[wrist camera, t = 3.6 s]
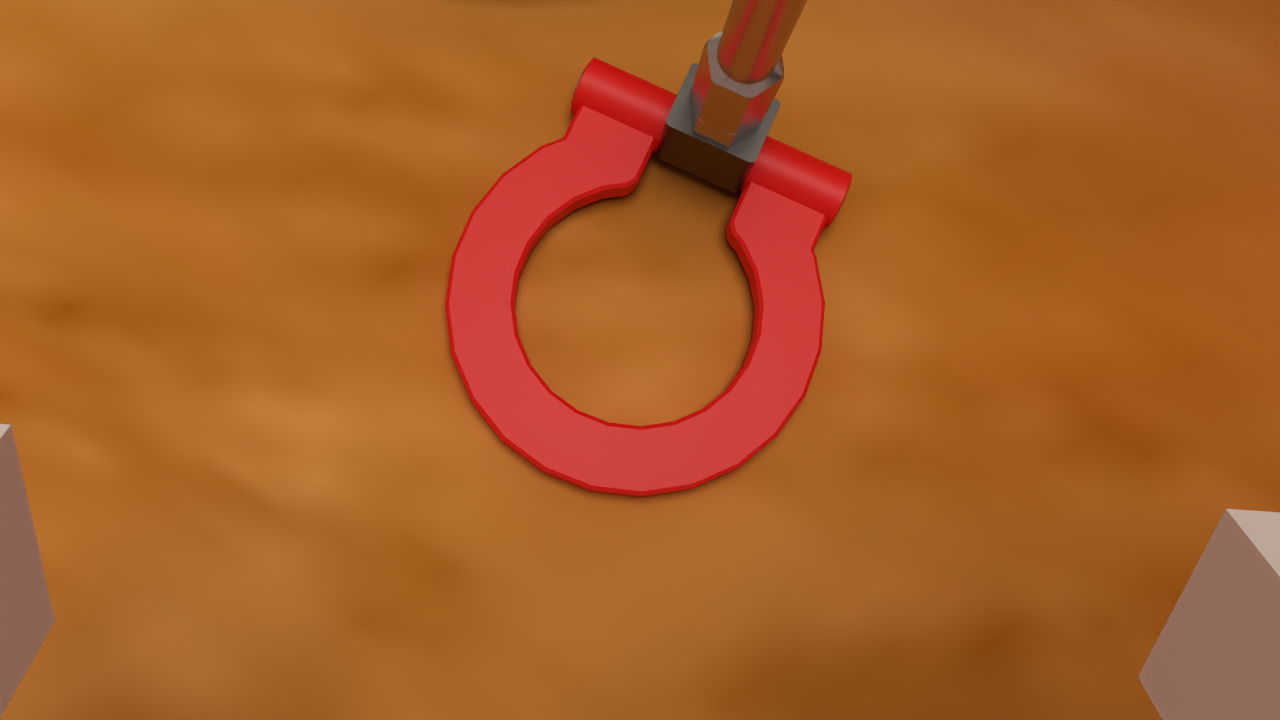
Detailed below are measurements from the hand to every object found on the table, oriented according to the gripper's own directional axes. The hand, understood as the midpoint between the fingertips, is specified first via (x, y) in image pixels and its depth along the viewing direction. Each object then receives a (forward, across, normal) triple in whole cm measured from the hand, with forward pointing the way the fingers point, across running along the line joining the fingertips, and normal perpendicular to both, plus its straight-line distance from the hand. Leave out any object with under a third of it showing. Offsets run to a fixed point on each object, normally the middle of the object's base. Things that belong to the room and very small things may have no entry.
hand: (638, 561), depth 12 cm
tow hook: (+13, +1, -4) cm, 13 cm away
